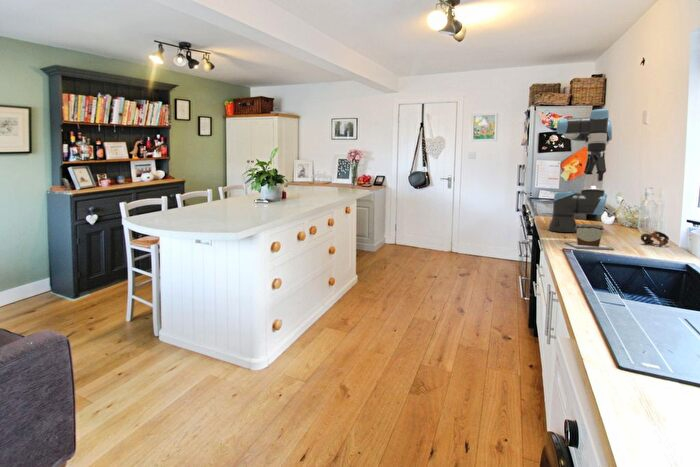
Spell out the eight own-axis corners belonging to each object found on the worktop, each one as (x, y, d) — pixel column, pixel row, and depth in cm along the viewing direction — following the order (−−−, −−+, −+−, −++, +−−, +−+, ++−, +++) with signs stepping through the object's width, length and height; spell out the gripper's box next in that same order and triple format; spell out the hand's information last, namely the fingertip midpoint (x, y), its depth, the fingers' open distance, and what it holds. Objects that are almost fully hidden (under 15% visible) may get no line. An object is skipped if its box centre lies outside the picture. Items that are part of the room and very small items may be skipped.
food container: (604, 245, 208) (605, 225, 207) (602, 247, 203) (604, 226, 202) (575, 243, 215) (577, 223, 214) (573, 244, 210) (575, 224, 209)
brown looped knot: (656, 244, 223) (665, 232, 218) (664, 255, 215) (674, 242, 210) (633, 239, 223) (642, 226, 218) (640, 249, 215) (650, 236, 211)
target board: (564, 243, 220) (564, 242, 220) (598, 244, 217) (598, 243, 217) (577, 248, 202) (577, 247, 202) (613, 250, 199) (614, 248, 199)
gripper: (579, 145, 217) (575, 187, 219) (598, 140, 192) (594, 188, 195) (595, 145, 215) (591, 187, 218) (617, 140, 191) (612, 188, 194)
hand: (593, 187), depth 206 cm, fingers open, 13 cm apart
